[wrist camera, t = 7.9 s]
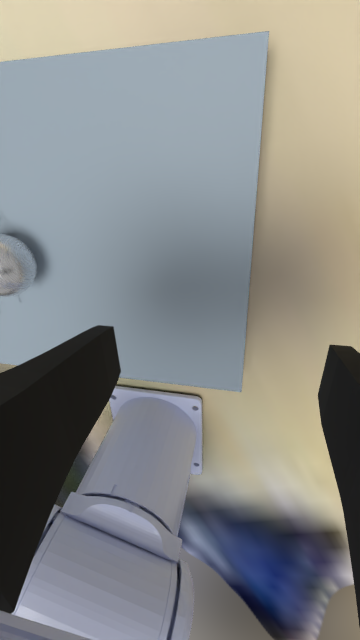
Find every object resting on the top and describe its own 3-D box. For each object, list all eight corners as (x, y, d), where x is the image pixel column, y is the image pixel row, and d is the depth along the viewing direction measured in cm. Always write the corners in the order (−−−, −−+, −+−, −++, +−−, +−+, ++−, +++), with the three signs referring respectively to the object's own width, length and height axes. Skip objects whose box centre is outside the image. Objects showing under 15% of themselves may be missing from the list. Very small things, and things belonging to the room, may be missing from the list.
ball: (11, 294, 20) (57, 277, 20) (-27, 313, 17) (27, 294, 16) (-19, 242, 19) (30, 222, 18) (-65, 251, 16) (-8, 228, 15)
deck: (267, 47, 14) (268, 31, 12) (243, 368, 23) (241, 392, 21) (-167, 93, 19) (-220, 87, 17) (-51, 337, 28) (-76, 354, 26)
